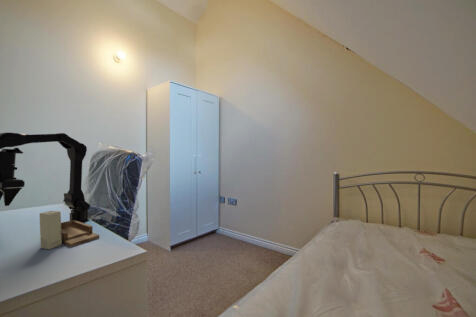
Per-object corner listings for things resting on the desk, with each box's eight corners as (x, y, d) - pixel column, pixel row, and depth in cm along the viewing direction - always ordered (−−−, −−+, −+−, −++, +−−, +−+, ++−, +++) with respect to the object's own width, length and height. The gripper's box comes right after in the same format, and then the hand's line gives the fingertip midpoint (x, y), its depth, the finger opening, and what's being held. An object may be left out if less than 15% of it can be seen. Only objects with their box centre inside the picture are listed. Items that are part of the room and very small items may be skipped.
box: (62, 245, 80) (62, 211, 80) (48, 250, 76) (48, 214, 76) (53, 243, 82) (52, 210, 82) (39, 247, 78) (38, 213, 78)
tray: (73, 228, 98) (73, 219, 98) (99, 237, 88) (99, 228, 88) (46, 235, 89) (46, 226, 89) (70, 247, 79) (70, 236, 79)
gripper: (-37, 163, 80) (-41, 204, 80) (-17, 164, 72) (-21, 211, 72) (5, 163, 90) (2, 200, 90) (26, 165, 82) (23, 205, 82)
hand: (1, 204), depth 83 cm, fingers open, 9 cm apart
